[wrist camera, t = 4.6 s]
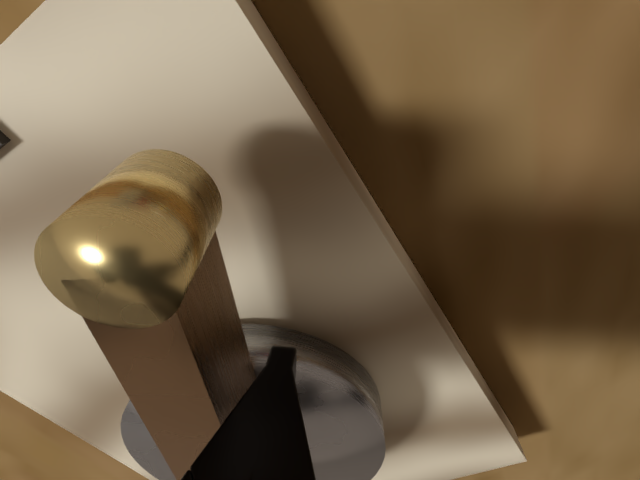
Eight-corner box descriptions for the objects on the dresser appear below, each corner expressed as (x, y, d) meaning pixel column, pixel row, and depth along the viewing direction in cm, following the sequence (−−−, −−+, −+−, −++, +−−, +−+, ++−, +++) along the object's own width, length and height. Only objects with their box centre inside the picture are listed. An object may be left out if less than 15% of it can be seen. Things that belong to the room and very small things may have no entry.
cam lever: (381, 468, 17) (392, 594, 14) (179, 469, 18) (141, 591, 14) (381, 106, 9) (413, 194, 5) (-6, 136, 9) (-216, 233, 6)
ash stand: (513, 427, 18) (529, 468, 17) (242, 502, 23) (236, 538, 22) (189, -101, 8) (155, -120, 7) (-165, 233, 13) (-229, 266, 12)
